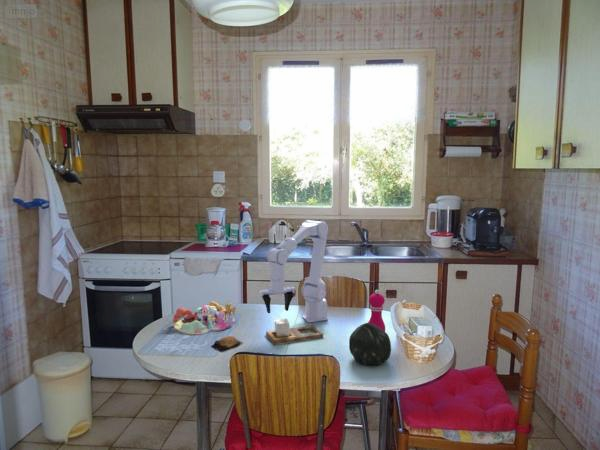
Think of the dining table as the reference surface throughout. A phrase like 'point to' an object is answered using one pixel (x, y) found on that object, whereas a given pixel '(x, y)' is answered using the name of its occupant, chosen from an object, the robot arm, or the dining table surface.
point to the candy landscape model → (204, 319)
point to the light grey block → (281, 328)
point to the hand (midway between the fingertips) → (277, 311)
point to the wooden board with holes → (295, 335)
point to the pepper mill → (377, 309)
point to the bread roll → (226, 343)
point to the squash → (370, 344)
